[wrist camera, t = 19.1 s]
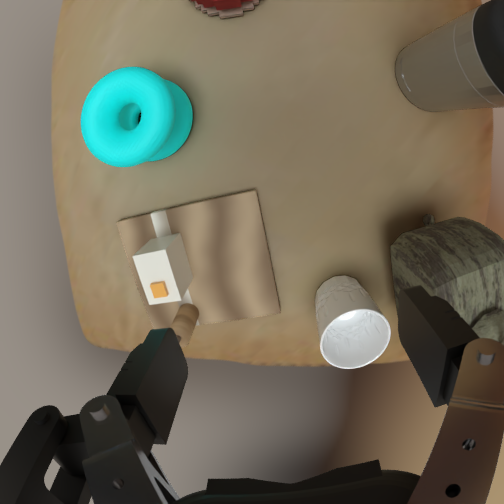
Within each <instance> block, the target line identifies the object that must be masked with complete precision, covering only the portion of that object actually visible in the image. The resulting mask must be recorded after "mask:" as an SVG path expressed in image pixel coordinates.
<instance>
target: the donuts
mask: <svg viewBox="0 0 504 504" xmlns="http://www.w3.org/2000/svg"><path fill="white" fill-rule="evenodd" d="M140 112H141V120H140V122H139V124H138V117H139V114H140ZM192 121H193V111H192V106H191V103H190V100H189V98H188V96H187V95H186V93H185V92H184V91H183V90H182V89H181V88H180V87H179V86H178V85H176V84H175V83H173V82H171V81H168V80H165V79H162V78H161V77H160V76H159V75H158V74H156V73H154V72H153V71H151V70H148V69H145V68H141V67H125V68H121V69H117V70H115V71H113V72H111V73H109V74H107V75H106V76H104V77H103V78H102V79H101V80H99V81H98V82H97V83H96V84H95V86H94V87H93V88H92V89H91V91H90V92H89V94H88V96H87V98H86V100H85V102H84V105H83V109H82V114H81V130H82V135H83V138H84V141H85V143H86V145H87V147H88V148H89V150H90V151H91V153H92V154H93V155H94V156H95V157H96V158H98V159H99V160H100V161H102V162H104V163H106V164H109V165H112V166H116V167H130V166H135V165H138V164H141V163H143V162H145V161H157V160H161V159H164V158H166V157H168V156H170V155H172V154H173V153H175V152H176V151H177V150H178V149H179V148H180V147H181V146H182V145H183V144H184V142H185V141H186V139H187V137H188V135H189V133H190V130H191V127H192Z"/></svg>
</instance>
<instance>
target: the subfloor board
mask: <svg viewBox="0 0 504 504" xmlns="http://www.w3.org/2000/svg"><path fill="white" fill-rule="evenodd" d="M116 224H117V227H118V230H119V233H120V237H121V240H122V243H123V246H124V249H125V252H126V256H127V259H128V262H129V265H130V268H131V270H132V273H133V276H134V279H135V282H136V285H137V287H138V290H139V293H140V296H141V298H142V301H143V304H144V306H145V309H146V312H147V314H148V317H149V319H150V322H151V324H152V327H153V329H161V328H170V326H171V324H172V322H173V320H174V318H175V316H176V314H177V312H178V310H179V308H180V306H181V305H183V304H185V303H190V304H193V305H195V306H196V307H197V308H198V310H199V317H198V320H197V322H196V325H203V324H211V323H218V322H226V321H233V320H240V319H247V318H253V317H260V316H266V315H273V314H279V313H281V312H280V304H279V299H278V294H277V289H276V284H275V279H274V274H273V269H272V264H271V259H270V254H269V249H268V244H267V239H266V234H265V229H264V225H263V220H262V215H261V210H260V205H259V200H258V196H257V191H256V189H255V190H249V191H244V192H239V193H235V194H230V195H225V196H220V197H216V198H211V199H206V200H202V201H197V202H193V203H188V204H184V205H180V206H175V207H171V208H167V209H163V210H158V211H154V212H150V213H146V214H142V215H138V216H134V217H130V218H126V219H123V220H120V221H118V222H116ZM178 233H180V234H181V237H182V241H183V245H184V248H185V252H186V255H187V259H188V262H189V266H190V269H191V272H192V276H193V279H192V281H191V283H190V285H189V287H188V289H187V291H186V293H185V295H184V297H183V299H182V301H175V302H168V303H160V304H153V305H149V302H148V300H147V297H146V294H145V291H144V289H143V286H142V283H141V280H140V277H139V274H138V272H137V269H136V266H135V263H134V260H133V257H132V256H133V255H134V254H135V253H136V252H137V251H139V250H140V249H141V248H142V247H143V246H144V245H145V244H146V243H147V242H148V241H149V240H151V239H154V238H159V237H164V236H168V235H173V234H178Z"/></svg>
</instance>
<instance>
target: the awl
mask: <svg viewBox="0 0 504 504" xmlns="http://www.w3.org/2000/svg"><path fill="white" fill-rule="evenodd" d="M198 317H199V310H198V308H197V307H196V306H195V305H193V304H190V303H185V304H183V305H181V306H180V308H179V310H178V312H177V314H176V316H175V318H174V320H173V322H172V324H171V326H170V328H172V329H173V330H174V332H175V334H176V336H177V339H178V342H179V344H180V347H185V346H186V345H188V343H189V341H190V338H191V336H192V333H193V330H194V328H195V325H196V322H197V320H198Z"/></svg>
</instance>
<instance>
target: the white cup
mask: <svg viewBox="0 0 504 504" xmlns="http://www.w3.org/2000/svg"><path fill="white" fill-rule="evenodd" d="M315 307H316V319H317V329H318V335H319V342H320V349H321V353H322V355H323V357H324V358H325V360H326V361H327V362H329V363H330V364H331V365H333V366H336V367H339V368H345V369H352V368H359V367H362V366H365V365H367V364H369V363H371V362H373V361H374V360H375V359H377V358H378V357H379V356H380V355H381V354H382V353H383V352H384V350H385V349H386V347H387V345H388V343H389V340H390V335H391V330H390V325H389V323H388V321H387V319H386V318H385V317H384V315H383V314H382V312H381V311H380V309H379V308H378V306H377V305H376V303H375V302H374V301H373V299H372V298H371V297H370V295H369V294H368V293H367V291H366V290H365V289H364V288H363V287H362V286H361V285H360V283H359V282H358V281H357V280H356V279H354V278H352V277H349V276H346V275H343V276H334V277H332V278H330V279H328V280H327V281H325V282H323V284H322V285H321V286H320V288H319V289H318V290H317V293H316V297H315Z"/></svg>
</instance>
